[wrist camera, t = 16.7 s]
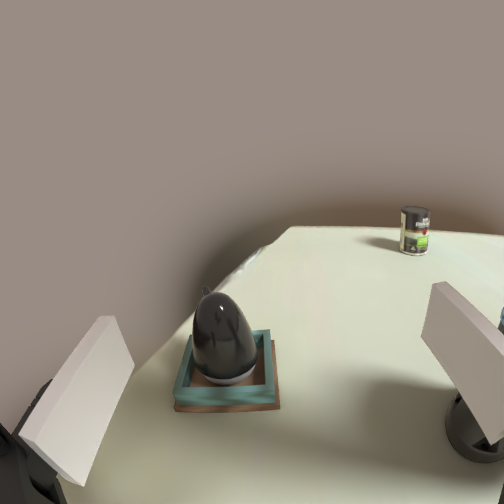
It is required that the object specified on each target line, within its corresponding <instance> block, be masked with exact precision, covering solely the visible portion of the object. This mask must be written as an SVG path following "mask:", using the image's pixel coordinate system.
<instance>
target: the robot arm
mask: <svg viewBox="0 0 504 504" xmlns="http://www.w3.org/2000/svg"><path fill="white" fill-rule="evenodd" d="M500 318H501V321H500V323H499V326H498V329H497V328H496V327H495V326H494V325H493V324H492V323H491V322H490V321H489V320H488V319H487V318H486V317H485V316H484V315H483V314H482V313H481V312H480V311H479V310H478V309H476V308H475V307H474V306H473V305H472V304H471V303H470V302H469V301H468V300H467V299H466V298H464V297H463V296H462V295H461V294H460V293H459V292H458V291H457V290H455V289H454V288H453V287H452V286H451V285H450V284H448V283H447V282H446V281H445V282H440V283H434V284H432V289H431V295H430V300H429V304H428V309H427V314H426V318H425V322H424V326H423V330H422V334H421V338H422V339H423V340H424V342H425V343H426V345H427V346H428V347H429V349H430V350H431V352H432V353H433V354H434V356H435V357H436V359H437V360H438V361H439V363H440V364H441V366H442V367H443V369H444V370H445V372H446V373H447V375H448V376H449V378H450V379H451V381H452V382H453V384H454V385H455V387H456V388H457V390H458V393H457V394H456V396H455V397H454V399H453V401H452V403H451V405H450V406H449V409H448V411H447V415H446V431H447V435H448V438H449V440H450V442H451V444H452V445H453V447H454V448H455V449H456V450H457V451H458V452H459V453H460V454H461V455H462V456H464V457H465V458H467V459H469V460H471V461H474V462H479V463H490V462H495V461H498V460H500V459H502V458H504V307H503V309H502V312H501V316H500ZM134 367H135V364H134V362H133V360H132V358H131V355H130V353H129V351H128V348H127V346H126V344H125V341H124V339H123V337H122V334H121V332H120V329H119V327H118V324H117V321H116V319H115V316H99V318H98V319H97V320H96V322H95V323H94V324H93V325H92V327H91V328H90V329H89V331H88V332H87V333H86V335H85V336H84V337H83V339H82V340H81V341H80V342H79V344H78V345H77V346H76V348H75V349H74V351H73V352H72V353H71V355H70V356H69V357H68V359H67V360H66V362H65V363H64V365H63V366H62V368H61V369H60V370H59V372H58V373H57V375H56V376H55V378H54V379H51V380H50V381H49V382H47V383H46V384H45V385H44V386H43V387H42V388H41V389H40V391H39V392H38V394H37V395H36V399H34V400H33V402H32V403H31V406H29V407H28V409H27V411H26V412H25V414H24V415H23V417H22V419H21V420H20V422H19V423H18V426H17V427H16V428H15V430H14V432H13V433H12V434H11V435H10V433H9V432H8V431H7V430H6V429H5V428H4V427H3V426H2V425H1V423H0V504H67V502H66V499H65V497H64V494H63V491H62V488H61V485H60V483H59V481H58V479H57V478H56V475H57V473H59V474H60V475H61V476H62V477H63V478H64V479H66V480H67V481H69V482H72V483H74V484H77V485H80V486H82V487H84V485H85V483H86V480H87V477H88V475H89V472H90V469H91V467H92V464H93V462H94V459H95V456H96V454H97V451H98V449H99V446H100V444H101V441H102V439H103V437H104V434H105V432H106V429H107V427H108V425H109V422H110V420H111V418H112V415H113V413H114V411H115V408H116V406H117V404H118V402H119V399H120V397H121V395H122V393H123V390H124V388H125V386H126V384H127V382H128V379H129V377H130V375H131V373H132V371H133V369H134ZM498 504H504V484H503V488H502V492H501V495H500V499H499V502H498Z"/></svg>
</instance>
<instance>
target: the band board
mask: <svg viewBox="0 0 504 504" xmlns="http://www.w3.org/2000/svg"><path fill="white" fill-rule="evenodd" d="M252 333H253V336H254V338H255V341H256V345H257V349H258V359H257V362H256V364H255V367H254V369H253V371H252V373H251V374H250V375H249V376H248V377H247V378H246V379H244V380H243V381H241V382H239V383H236V384H233V385H220V384H216V383H213V382H211V381H210V380H208V379H207V378H206V377H205V376H204V375H203V374H202V373H200V372H199V371H198V369H197V368H196V365H195V362H194V358H193V349H192V335H190V336H189V339H188V343H187V346H186V349H185V352H184V356H183V359H182V362H181V366H180V369H179V372H178V376H177V379H176V383H175V386H174V390H173V395H174V397H175V399H176V401H175V405H174V409H175V411H179V412H245V411H262V410H275V409H280V400H279V388H278V377H277V366H276V355H275V345H274V340H271V337H270V329H268V330H257V331H252Z"/></svg>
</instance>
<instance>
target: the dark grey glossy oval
mask: <svg viewBox="0 0 504 504" xmlns="http://www.w3.org/2000/svg"><path fill="white" fill-rule="evenodd" d="M202 291H203V293H204V297H203V298H202V299H201V300H200V302H199V304H198V306H197V308H196V311H195V315H194V319H193V328H192V349H193V358H194V362H195V365H196V368H197V369H198V371H199V372H200V373H202V374H203V375H204V376H205V377H206V378H207V379H208V380H210V381H211V382H213V383H216V384H220V385H233V384H236V383H239V382H241V381H243V380H244V379H246V378H247V377H248V376H249V375H250V374H251V373H252V371H253V369H254V367H255V364H256V362H257V359H258V349H257V345H256V341H255V338H254V336H253V333H252V330H251V328H250V326H249V324H248V322H247V320H246V318H245V316H244V314H243V312H242V311H241V309H240V308H239V306H238V305H237V304H236V303H235V301H234V300H233V299H231V298H230V297H229V296H228V295H226V294H224V293H220V292H214V293H212V292H211V291H210V289H209V288H208V286H204V287H203V288H202Z"/></svg>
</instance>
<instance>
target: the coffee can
mask: <svg viewBox="0 0 504 504" xmlns="http://www.w3.org/2000/svg"><path fill="white" fill-rule="evenodd" d="M401 211H402V213H401V214H402V215H401V235H400V248H399V249H400V251H401V252H403V253H405V254H408V255H414V256H420V255H424V254H426V253H427V246H428V236H429V223H430V210H429V209H427V208H423V207H418V206H405V207H402V208H401Z"/></svg>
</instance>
